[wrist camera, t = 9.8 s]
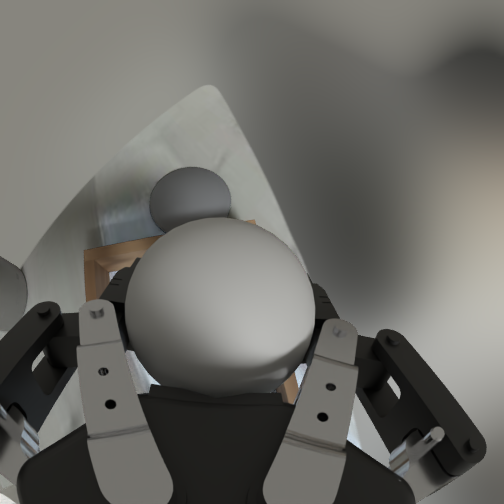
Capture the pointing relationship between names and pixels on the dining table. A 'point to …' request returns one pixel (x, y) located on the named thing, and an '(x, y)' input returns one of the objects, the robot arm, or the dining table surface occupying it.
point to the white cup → (9, 495)
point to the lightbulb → (220, 309)
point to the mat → (189, 198)
